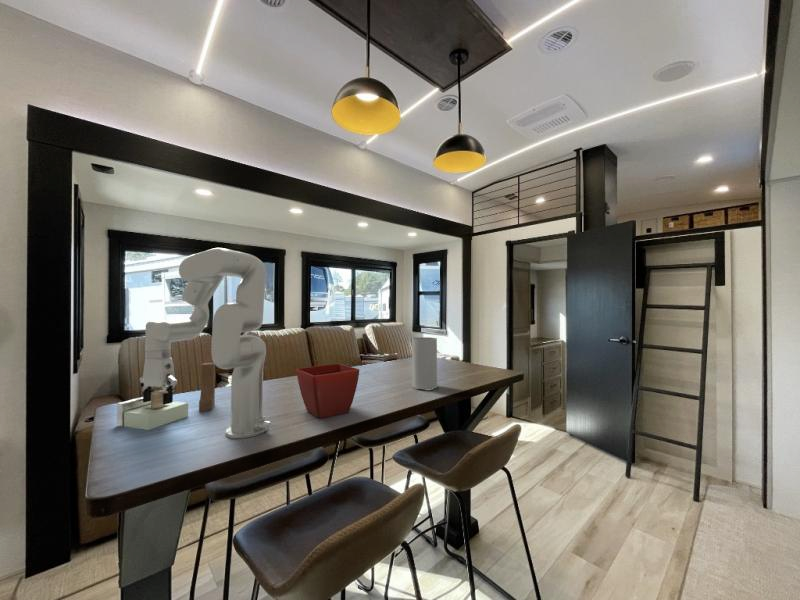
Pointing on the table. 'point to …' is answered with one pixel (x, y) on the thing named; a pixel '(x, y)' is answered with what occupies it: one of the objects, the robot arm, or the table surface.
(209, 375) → the wooden block
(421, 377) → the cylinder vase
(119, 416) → the backstop board
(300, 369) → the plant pot
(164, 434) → the table surface
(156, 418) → the socket block
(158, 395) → the wooden dowel
